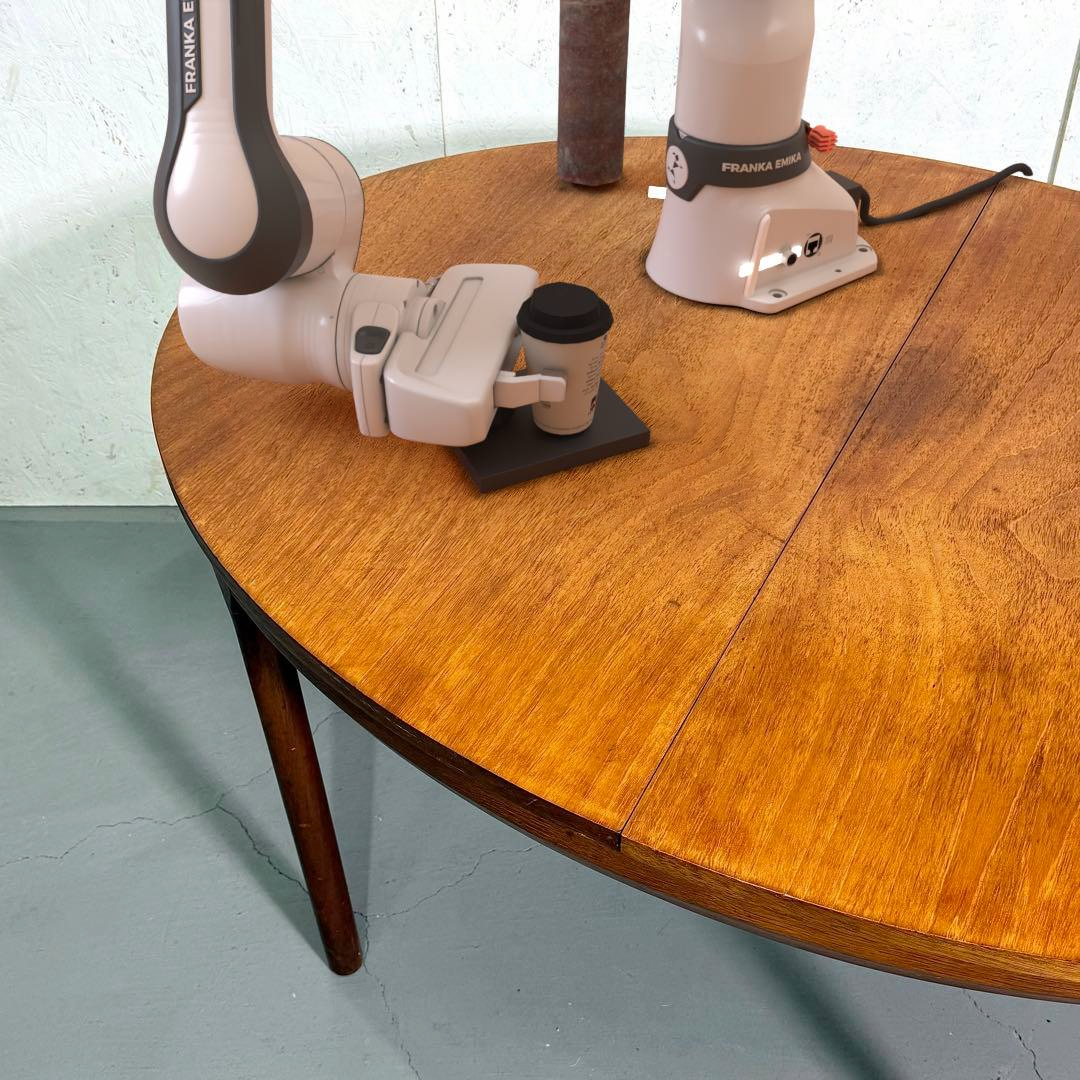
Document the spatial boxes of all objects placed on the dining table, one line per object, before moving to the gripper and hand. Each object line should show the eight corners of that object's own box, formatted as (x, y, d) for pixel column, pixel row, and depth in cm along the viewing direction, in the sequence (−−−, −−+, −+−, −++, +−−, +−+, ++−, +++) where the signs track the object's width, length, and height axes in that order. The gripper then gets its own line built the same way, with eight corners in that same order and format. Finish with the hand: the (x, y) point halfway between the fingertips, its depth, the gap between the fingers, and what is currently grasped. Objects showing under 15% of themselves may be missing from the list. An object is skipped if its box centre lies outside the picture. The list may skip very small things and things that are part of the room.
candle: (617, 198, 115) (625, -2, 102) (550, 193, 116) (551, -6, 103) (626, 170, 121) (636, -23, 108) (563, 165, 122) (565, -26, 109)
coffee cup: (626, 425, 80) (634, 307, 74) (548, 454, 78) (549, 334, 71) (575, 382, 85) (579, 267, 78) (500, 408, 82) (497, 291, 75)
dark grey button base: (578, 366, 90) (578, 335, 88) (649, 445, 82) (652, 412, 80) (417, 407, 86) (414, 375, 84) (475, 495, 77) (473, 462, 75)
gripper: (434, 306, 89) (597, 323, 87) (355, 450, 74) (549, 474, 72) (429, 236, 85) (600, 251, 83) (344, 373, 70) (550, 396, 68)
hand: (576, 356), depth 77 cm, fingers closed on coffee cup, 7 cm apart
